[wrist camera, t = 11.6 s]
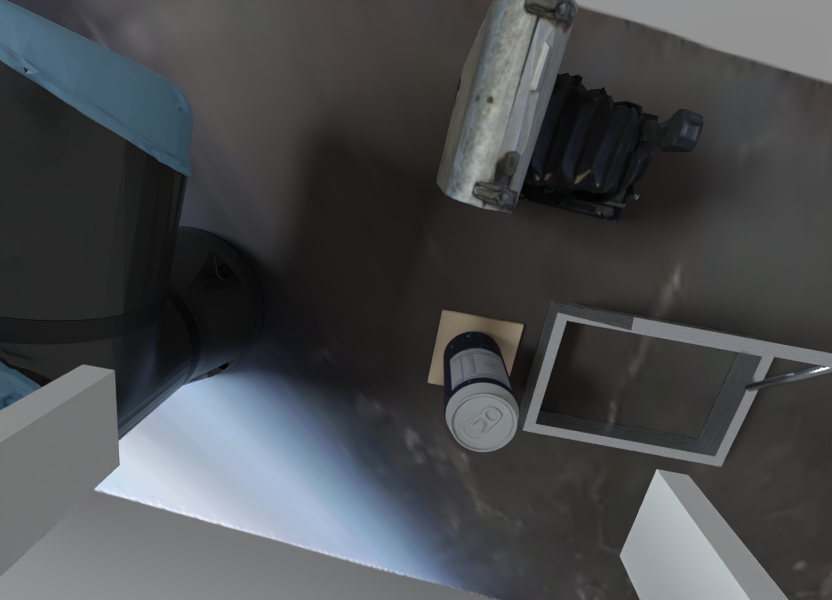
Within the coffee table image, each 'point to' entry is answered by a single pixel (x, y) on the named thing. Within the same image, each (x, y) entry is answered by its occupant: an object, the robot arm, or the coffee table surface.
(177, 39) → the coffee table surface
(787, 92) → the coffee table surface
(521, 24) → the vintage camera
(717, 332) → the case
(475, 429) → the beverage can
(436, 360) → the pad
